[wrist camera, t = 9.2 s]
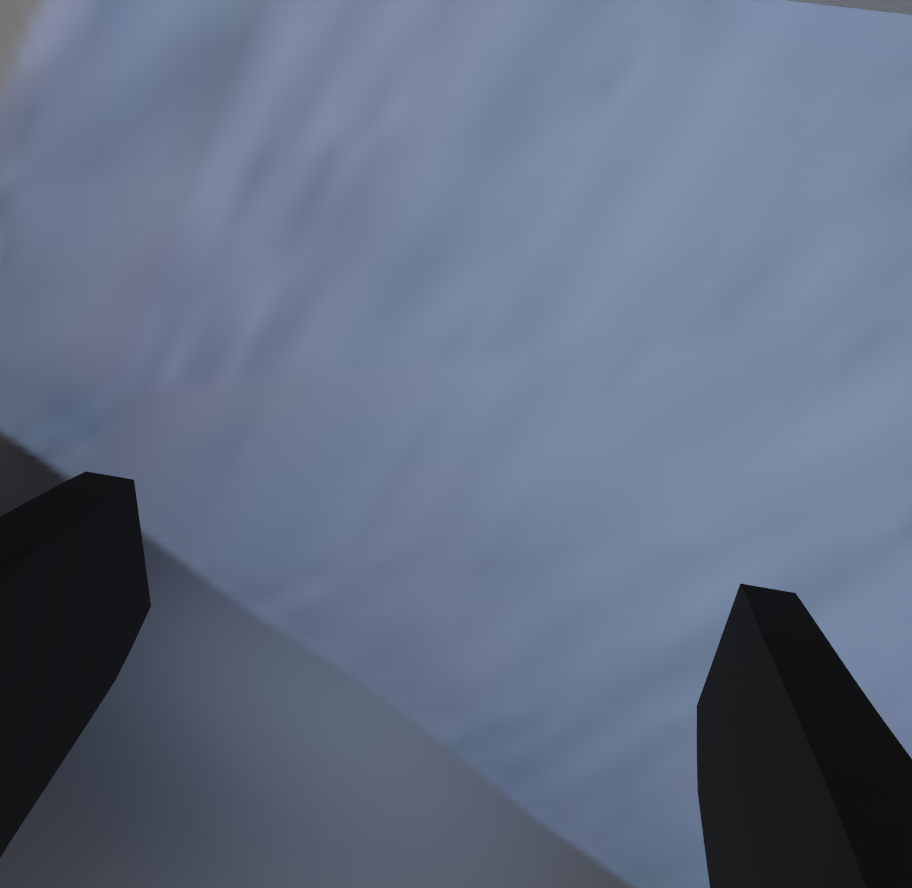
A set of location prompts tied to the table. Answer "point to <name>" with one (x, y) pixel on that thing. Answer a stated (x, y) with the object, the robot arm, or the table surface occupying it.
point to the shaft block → (869, 4)
